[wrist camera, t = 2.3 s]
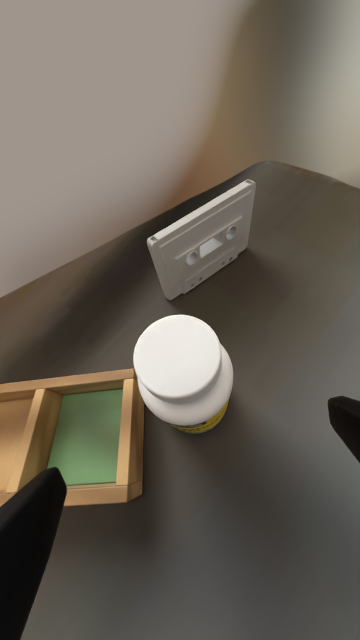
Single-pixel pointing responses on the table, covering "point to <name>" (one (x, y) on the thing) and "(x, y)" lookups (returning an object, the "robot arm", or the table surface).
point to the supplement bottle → (183, 373)
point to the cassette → (203, 240)
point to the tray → (74, 435)
